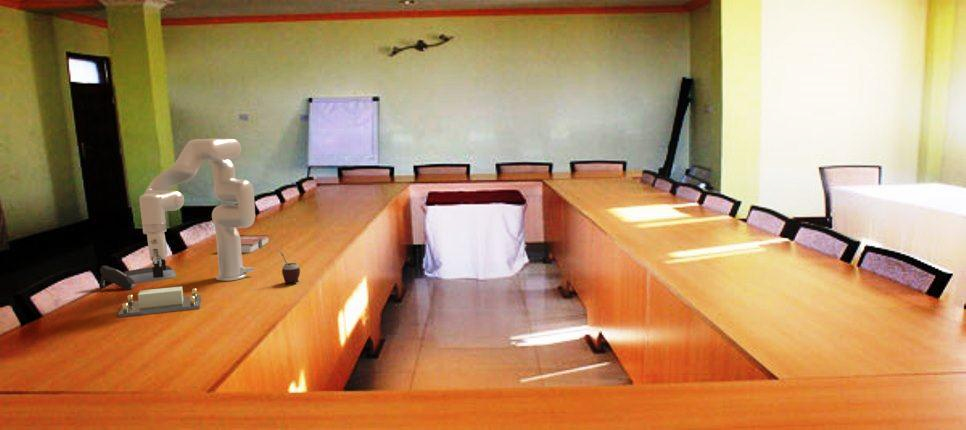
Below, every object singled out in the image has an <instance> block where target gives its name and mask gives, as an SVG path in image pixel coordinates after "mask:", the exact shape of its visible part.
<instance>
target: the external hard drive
mask: <svg viewBox="0 0 966 430" xmlns="http://www.w3.org/2000/svg"><path fill="white" fill-rule="evenodd" d="M152 267H153V266H149V267H141V268H136V269H131V270H126V271H123V273H124V274H126V275H127V276H129V277H130V278H131V279H132V280H134V285H135V284H142V283H150V282H155V281H156V282H157V281H161V280H162V279H163V280H167V279H168V278H169V279H174V277H175V278H177V274H176V271H175V270H174V269H173V268H172V267H170V266H169V265H166V270H163V277H159V278H154V277H153V270H152Z"/></svg>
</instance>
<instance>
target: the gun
mask: <svg viewBox="0 0 966 430" xmlns="http://www.w3.org/2000/svg"><path fill="white" fill-rule="evenodd" d="M99 272H100V274H101V275H100V280H99V281H100V283H99V284H100V287H101V288H102V289H105V288H106V282H108V283H110V284H112V283H113V284H115V285H116V286H117V287H120V288H121V289H123V290H126V291H127V290H132V289H134V288H136V285H135V284H134V280H132V279H131V278H130V277H129V276H127V275H126V274H124V272H122V271H121V270H118V269H116V268H114V267H110V266H108V265H101V266H100V269H99Z"/></svg>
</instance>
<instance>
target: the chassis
mask: <svg viewBox="0 0 966 430" xmlns="http://www.w3.org/2000/svg"><path fill="white" fill-rule="evenodd" d="M191 293H192V295H183V303H182V304H175V305H166V306H157V307H148V308H139V301H138V300H134V298H133V294H128V295H127V301H125V302H124V303H122V304H121V305H122V307H121V308H120V310H119V311H118V313H117V318H124V317H126V318H128V317H134V316H135V317H136V316H144V315H151V314H152V315H153V314H163V313H173V312H182V311H187V310H188V311H189V310H190V311H191V310H198V309H200V308H201V303H202V299H203V298H202V297H203V296H202V294H198V291H197V287H196V288H195V287H194V288H192V289H191Z"/></svg>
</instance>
